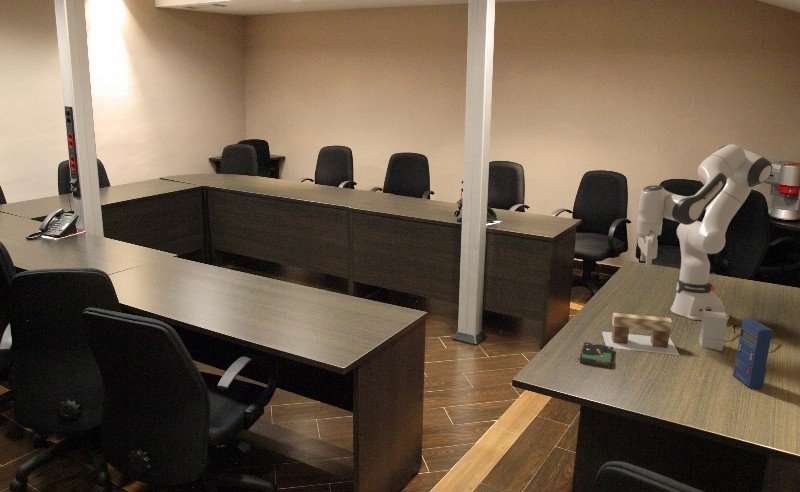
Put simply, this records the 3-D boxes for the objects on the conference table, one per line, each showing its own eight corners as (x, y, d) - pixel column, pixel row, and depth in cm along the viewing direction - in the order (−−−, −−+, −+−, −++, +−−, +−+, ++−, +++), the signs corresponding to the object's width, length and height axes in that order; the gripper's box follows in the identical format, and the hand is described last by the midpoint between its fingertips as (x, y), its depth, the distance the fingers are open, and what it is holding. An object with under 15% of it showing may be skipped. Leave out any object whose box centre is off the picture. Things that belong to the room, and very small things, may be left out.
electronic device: (731, 375, 210) (741, 319, 206) (745, 375, 211) (756, 319, 206) (748, 388, 201) (759, 330, 196) (764, 388, 202) (775, 330, 197)
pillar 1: (625, 338, 238) (627, 323, 236) (627, 343, 233) (629, 328, 231) (611, 337, 238) (613, 322, 237) (613, 342, 234) (615, 327, 232)
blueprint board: (669, 339, 240) (670, 338, 240) (679, 356, 225) (679, 354, 224) (601, 332, 244) (601, 331, 244) (606, 348, 229) (606, 347, 229)
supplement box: (719, 344, 237) (725, 312, 234) (722, 352, 230) (727, 319, 227) (698, 341, 239) (703, 309, 236) (700, 348, 232) (705, 316, 229)
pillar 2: (664, 342, 235) (666, 327, 233) (667, 348, 230) (669, 332, 229) (650, 341, 236) (652, 326, 234) (653, 346, 231) (655, 331, 230)
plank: (668, 328, 233) (669, 318, 232) (670, 332, 229) (672, 321, 228) (611, 322, 237) (613, 312, 236) (613, 326, 233) (614, 316, 232)
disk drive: (583, 349, 230) (579, 364, 217) (583, 341, 230) (579, 356, 216) (612, 353, 227) (610, 369, 213) (613, 346, 226) (611, 361, 212)
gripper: (663, 235, 229) (659, 271, 232) (652, 223, 248) (649, 257, 252) (645, 234, 230) (641, 271, 233) (636, 222, 249) (633, 256, 253)
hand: (645, 263), depth 243 cm, fingers open, 8 cm apart
